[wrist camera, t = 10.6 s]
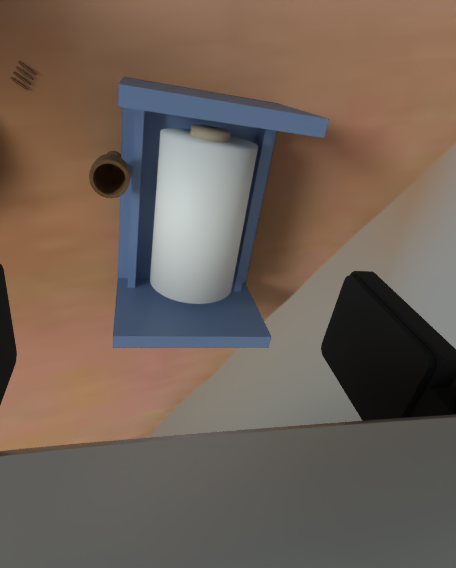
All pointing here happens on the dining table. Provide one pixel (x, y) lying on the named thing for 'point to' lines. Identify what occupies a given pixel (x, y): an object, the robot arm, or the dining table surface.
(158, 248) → the roll
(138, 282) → the holder
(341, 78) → the dining table surface
